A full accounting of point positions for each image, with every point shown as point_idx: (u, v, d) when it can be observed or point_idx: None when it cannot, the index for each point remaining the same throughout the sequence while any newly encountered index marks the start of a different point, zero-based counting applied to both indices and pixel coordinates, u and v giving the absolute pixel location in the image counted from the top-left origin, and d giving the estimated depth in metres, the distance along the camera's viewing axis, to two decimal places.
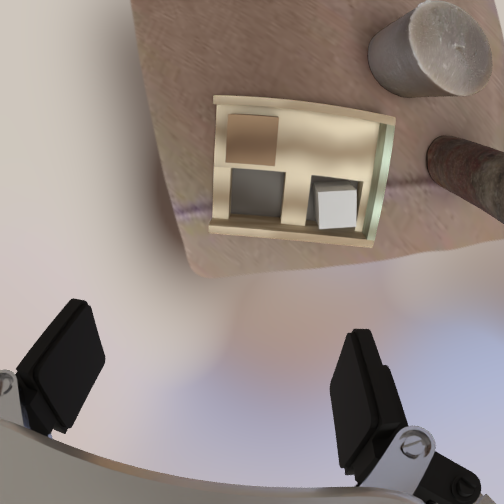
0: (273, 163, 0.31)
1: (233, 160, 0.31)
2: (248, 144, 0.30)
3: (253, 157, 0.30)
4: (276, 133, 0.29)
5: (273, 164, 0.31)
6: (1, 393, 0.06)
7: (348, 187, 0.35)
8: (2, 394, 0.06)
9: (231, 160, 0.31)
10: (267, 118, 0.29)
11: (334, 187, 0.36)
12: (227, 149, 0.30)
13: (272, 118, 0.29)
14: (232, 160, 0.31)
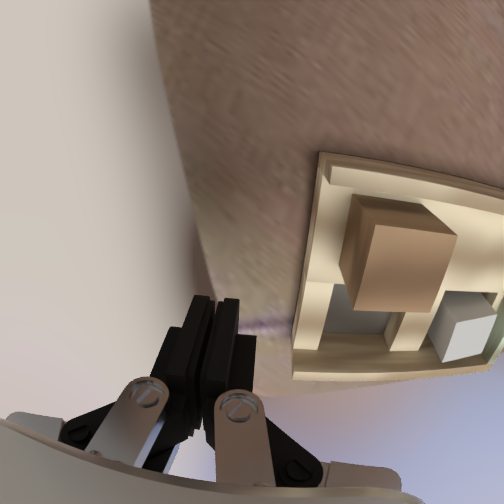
0: (429, 308, 0.16)
1: (368, 307, 0.16)
2: (399, 280, 0.15)
3: (402, 301, 0.16)
4: (447, 262, 0.15)
5: (428, 310, 0.16)
6: (140, 402, 0.07)
7: (485, 306, 0.20)
8: (140, 404, 0.07)
9: (365, 307, 0.16)
10: (441, 236, 0.14)
11: (469, 306, 0.21)
12: (362, 289, 0.16)
13: (448, 236, 0.14)
14: (366, 306, 0.16)
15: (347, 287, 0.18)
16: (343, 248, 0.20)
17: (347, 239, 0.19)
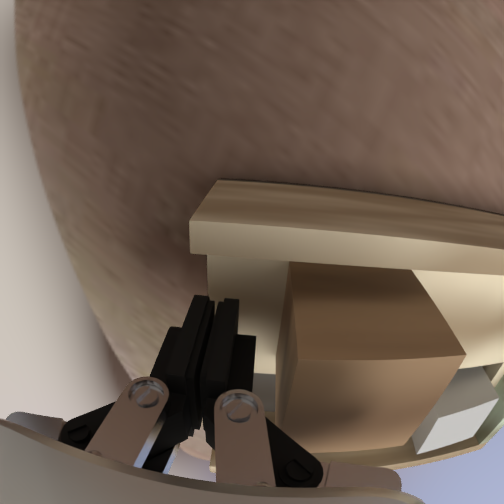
0: (402, 442, 0.09)
1: None
2: (350, 423, 0.08)
3: (356, 441, 0.09)
4: (440, 392, 0.08)
5: (401, 443, 0.09)
6: (140, 402, 0.07)
7: (483, 385, 0.13)
8: (140, 404, 0.07)
9: None
10: (434, 362, 0.07)
11: (461, 388, 0.14)
12: None
13: (448, 359, 0.07)
14: None
15: (275, 407, 0.11)
16: (279, 339, 0.13)
17: (281, 331, 0.12)
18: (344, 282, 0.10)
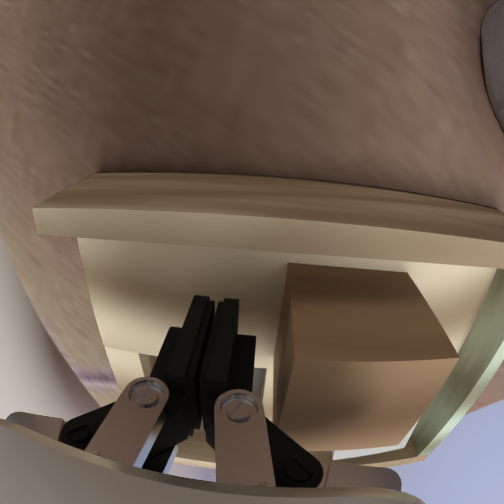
0: (397, 441, 0.09)
1: None
2: (346, 422, 0.09)
3: (352, 440, 0.09)
4: (434, 393, 0.08)
5: (396, 443, 0.09)
6: (140, 402, 0.07)
7: None
8: (140, 404, 0.07)
9: None
10: (428, 364, 0.07)
11: None
12: None
13: (441, 362, 0.07)
14: None
15: (273, 406, 0.11)
16: (277, 340, 0.13)
17: (279, 332, 0.12)
18: (341, 285, 0.11)
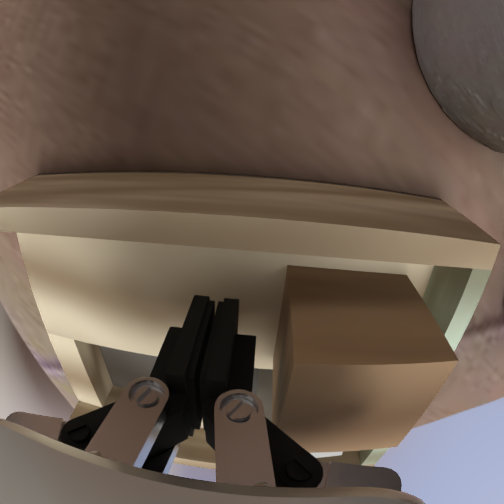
0: (395, 443, 0.09)
1: None
2: (345, 424, 0.09)
3: (351, 442, 0.09)
4: (432, 395, 0.08)
5: (395, 444, 0.09)
6: (140, 402, 0.07)
7: None
8: (140, 404, 0.07)
9: None
10: (426, 367, 0.07)
11: None
12: None
13: (440, 364, 0.07)
14: None
15: (272, 407, 0.11)
16: (276, 342, 0.13)
17: (279, 334, 0.12)
18: (340, 287, 0.11)
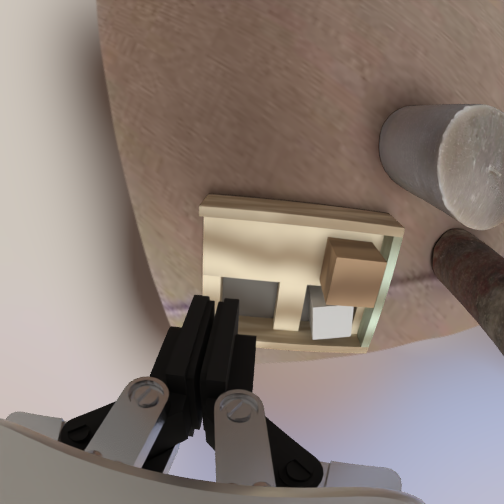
0: (372, 305, 0.29)
1: (334, 302, 0.29)
2: (352, 287, 0.28)
3: (354, 300, 0.29)
4: (381, 278, 0.28)
5: (372, 306, 0.29)
6: (140, 402, 0.07)
7: None
8: (140, 404, 0.07)
9: (332, 302, 0.29)
10: (376, 263, 0.27)
11: None
12: (330, 292, 0.29)
13: (380, 263, 0.27)
14: (333, 302, 0.29)
15: (323, 292, 0.31)
16: (322, 269, 0.33)
17: (324, 264, 0.32)
18: (347, 243, 0.31)
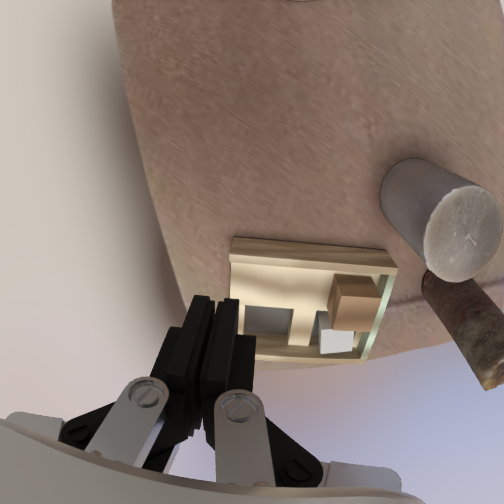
0: (369, 330, 0.36)
1: (339, 328, 0.36)
2: (353, 317, 0.35)
3: (355, 326, 0.35)
4: (377, 309, 0.34)
5: (369, 330, 0.36)
6: (140, 402, 0.07)
7: None
8: (140, 404, 0.07)
9: (337, 328, 0.36)
10: (373, 299, 0.34)
11: None
12: (335, 321, 0.35)
13: (376, 299, 0.34)
14: (338, 328, 0.36)
15: (330, 319, 0.38)
16: (329, 298, 0.39)
17: (331, 295, 0.39)
18: (350, 280, 0.37)
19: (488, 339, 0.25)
